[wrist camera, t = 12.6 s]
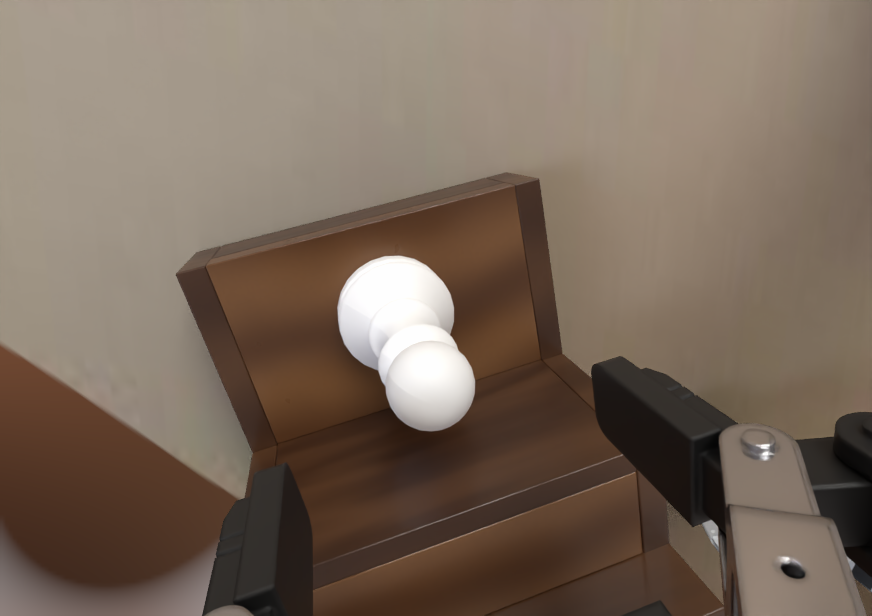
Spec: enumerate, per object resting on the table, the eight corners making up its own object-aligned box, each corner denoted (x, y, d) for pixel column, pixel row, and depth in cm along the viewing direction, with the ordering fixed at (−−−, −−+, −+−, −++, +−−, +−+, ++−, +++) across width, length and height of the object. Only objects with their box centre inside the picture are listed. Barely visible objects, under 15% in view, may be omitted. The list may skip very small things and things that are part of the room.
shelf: (195, 252, 24) (38, 414, 10) (507, 172, 26) (729, 213, 12) (294, 494, 29) (281, 814, 15) (544, 410, 32) (726, 622, 18)
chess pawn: (462, 275, 23) (548, 353, 15) (421, 370, 24) (481, 493, 16) (359, 237, 21) (392, 302, 13) (320, 341, 22) (328, 461, 14)
